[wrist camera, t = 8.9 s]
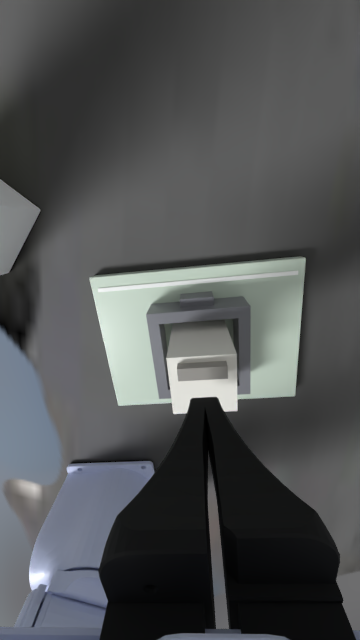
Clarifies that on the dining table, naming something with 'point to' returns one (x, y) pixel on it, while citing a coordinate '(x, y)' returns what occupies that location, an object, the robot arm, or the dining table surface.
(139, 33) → the dining table surface
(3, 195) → the milk
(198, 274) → the board
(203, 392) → the plug
